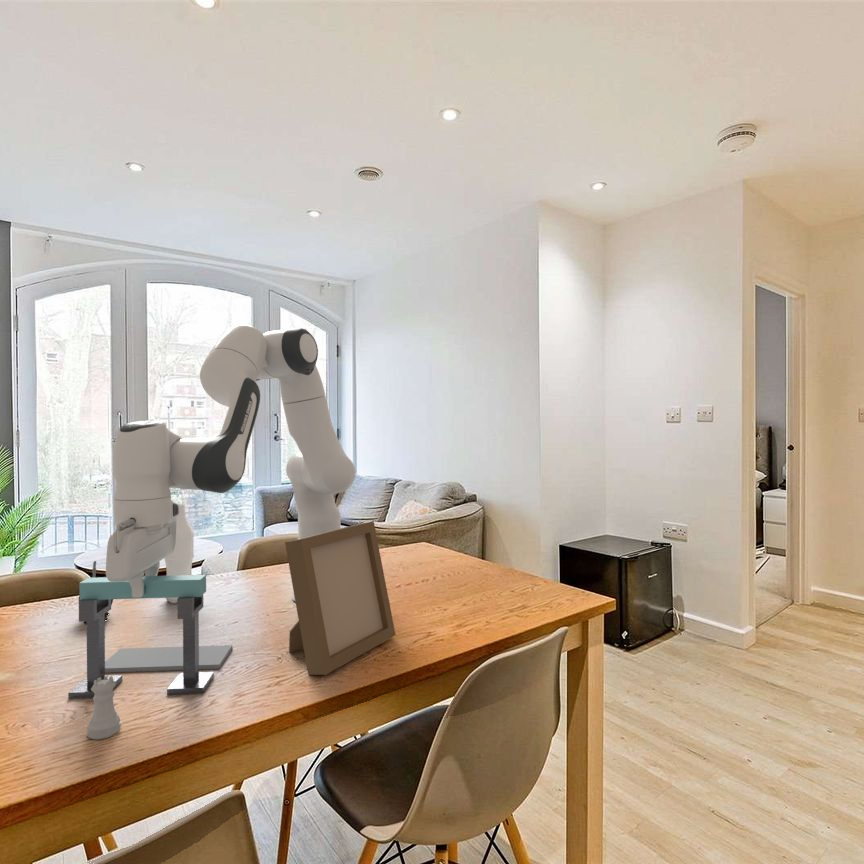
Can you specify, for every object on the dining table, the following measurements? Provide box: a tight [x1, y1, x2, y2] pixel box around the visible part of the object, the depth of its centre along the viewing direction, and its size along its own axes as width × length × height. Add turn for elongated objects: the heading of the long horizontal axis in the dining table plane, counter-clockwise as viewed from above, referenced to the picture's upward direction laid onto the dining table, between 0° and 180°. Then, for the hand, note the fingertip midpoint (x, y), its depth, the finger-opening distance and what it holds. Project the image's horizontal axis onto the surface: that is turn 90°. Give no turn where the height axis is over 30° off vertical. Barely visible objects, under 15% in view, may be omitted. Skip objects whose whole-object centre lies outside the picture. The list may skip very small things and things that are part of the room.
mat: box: [105, 644, 233, 674], centre depth 108 cm, size 22×9×1 cm, turn 95°
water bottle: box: [163, 503, 195, 604], centre depth 144 cm, size 7×7×25 cm
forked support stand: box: [67, 594, 215, 699], centre depth 97 cm, size 22×6×16 cm, turn 95°
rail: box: [78, 574, 207, 600], centre depth 97 cm, size 20×3×3 cm, turn 95°
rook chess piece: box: [86, 675, 122, 741], centre depth 83 cm, size 4×4×8 cm
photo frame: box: [284, 520, 396, 676], centre depth 113 cm, size 15×22×25 cm
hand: (144, 592), depth 97 cm, fingers closed on rail, 3 cm apart
